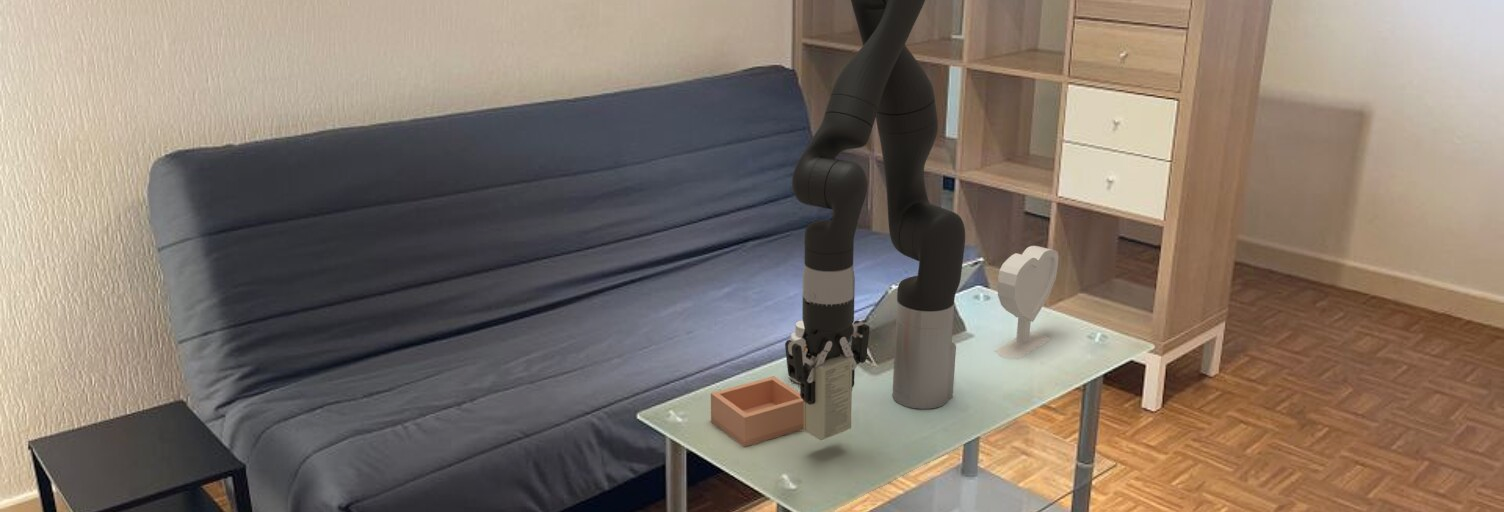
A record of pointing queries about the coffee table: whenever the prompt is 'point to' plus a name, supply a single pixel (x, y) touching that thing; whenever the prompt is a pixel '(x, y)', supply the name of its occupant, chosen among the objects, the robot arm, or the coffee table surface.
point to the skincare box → (830, 399)
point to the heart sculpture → (1026, 294)
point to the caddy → (758, 410)
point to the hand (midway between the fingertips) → (827, 396)
